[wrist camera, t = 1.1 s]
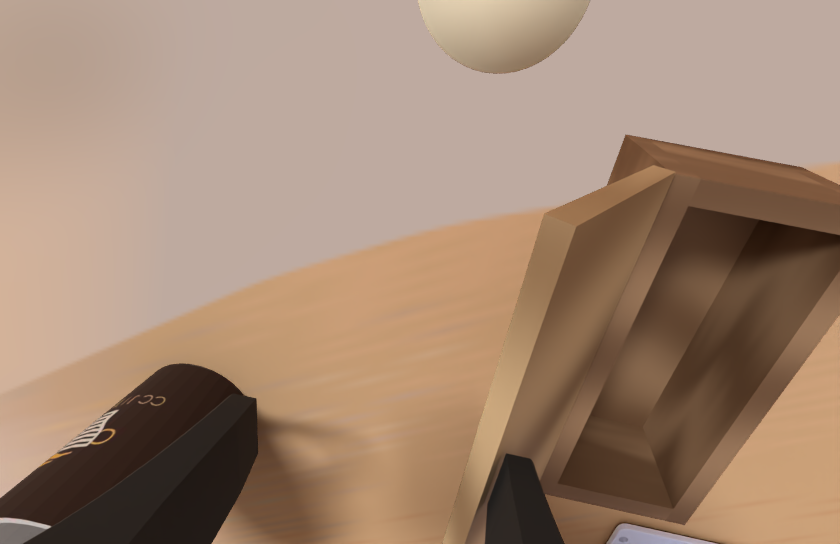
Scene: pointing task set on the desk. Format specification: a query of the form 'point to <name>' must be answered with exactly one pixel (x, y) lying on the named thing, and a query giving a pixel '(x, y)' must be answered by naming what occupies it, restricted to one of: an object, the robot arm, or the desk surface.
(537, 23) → the cream domed disc
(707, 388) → the walnut box
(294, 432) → the desk surface
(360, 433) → the desk surface
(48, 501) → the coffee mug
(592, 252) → the lid
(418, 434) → the desk surface
